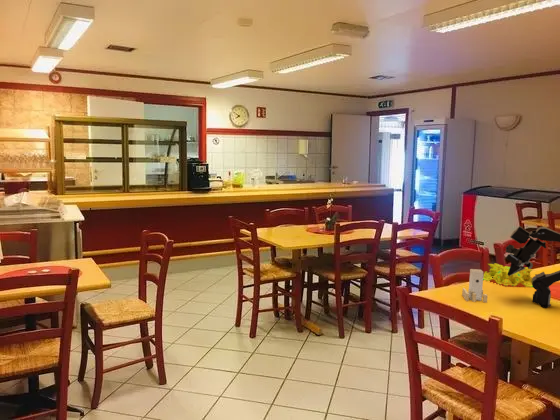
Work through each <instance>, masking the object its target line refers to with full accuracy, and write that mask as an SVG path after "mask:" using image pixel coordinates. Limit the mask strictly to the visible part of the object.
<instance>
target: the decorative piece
mask: <svg viewBox="0 0 560 420" xmlns="http://www.w3.org/2000/svg"><path fill="white" fill-rule="evenodd" d="M488 266H489V267H490V268H489V270H488V271H489V272H488V271H484V272H483V281H484V280H486V281H485V282H487V281H490V282H489V283H491V282H493V283H492V284H494V283H496V284H495V285H498V284H499V285H498V286H501V285H502V287H505V288H533V286H532V282H531V280H532V278H533V277H531V275H532V274H531V273H532V272H533V271H534V269H532V268H531V269H528V267H527V266H526V267H525V266H523V267H524V268H525V269H523V270H521V271H519V272H517V273H515V274H513V275H510V276H509V275H507V274H508V271H509V269H510V266H511V265H510V266H508V265H505V266H504V265H502V264H499V263H488ZM492 277H493V278H492Z"/></svg>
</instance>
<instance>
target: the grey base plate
mask: <svg viewBox="0 0 560 420" xmlns="http://www.w3.org/2000/svg"><path fill="white" fill-rule="evenodd" d="M461 296H462V297H463V298H464V300H465V302H469V301H470V298H469V289H468V290H467V289H466V288H465V287H462V295H461ZM476 301H477V300H476V293H472V300H471V302H474V303H475V302H476ZM482 302H483V303H486V304H487V303H488V294H486V293H484V288H482Z"/></svg>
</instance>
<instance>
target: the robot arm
mask: <svg viewBox="0 0 560 420" xmlns="http://www.w3.org/2000/svg"><path fill="white" fill-rule="evenodd" d="M509 238H510V239H513V240H514V241H516V242H517V243H518V244H520V245H522V244H524V246H521V247H519V248H516V247H515V245H512V244H508V245H507V246H506V247H505V253H507V255H506V257H505V259H507V260H508V261H509V262H510V269H509V271H508V274H507V275H509V276H510V275H513V274H515V273H517V272H519V271H521V270H523V269H525V268H524V267H525V266H526V267H528V269H532V268H533V267H534V264H533V262H531V259H532V258H535V257H536V255H535V254H536V253H537V252H538V251H539V250H540V248H541V247H543V248H544V249H546V248H547V245H546V244H547V242H558V243H560V232H557V231H555V230H553V229H551V228H549V227H546V226H539V227H537V229H535V230H532V231H527V230H525V229H524V228H523V227H522V226H520V225H519V226H518V227H517V228H516V229H515V230H514V231H513V232H512V233H511V234H510V236H509ZM531 278H532V280H531V282H532V286H533V287H532V288H533V289H534V290H535V291H534V293H533V294H532V301H531V302H532V303H533V304H537V305H539V307H540V308H546V309H547V308H549V307H551V306H552V303H551V296H552V293H551V292H552V290H551V288H550V287H551V286H552V285H553V284H554V283H557V282H560V270H556V271H554V272H552V273H551V272H550V273H545V271H542V272H540V273H538V274H534V276H532V277H531Z"/></svg>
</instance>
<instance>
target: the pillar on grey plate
mask: <svg viewBox="0 0 560 420" xmlns="http://www.w3.org/2000/svg"><path fill="white" fill-rule="evenodd" d="M483 277H484V271H483V270H482V269H475V268H470V269H469V281H468V282H469V283H468V290H469V301H472V293H476V301H480V302H481V301H482V302H483V297H482V289H483V287H484V286H483V283H484V280H483Z"/></svg>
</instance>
